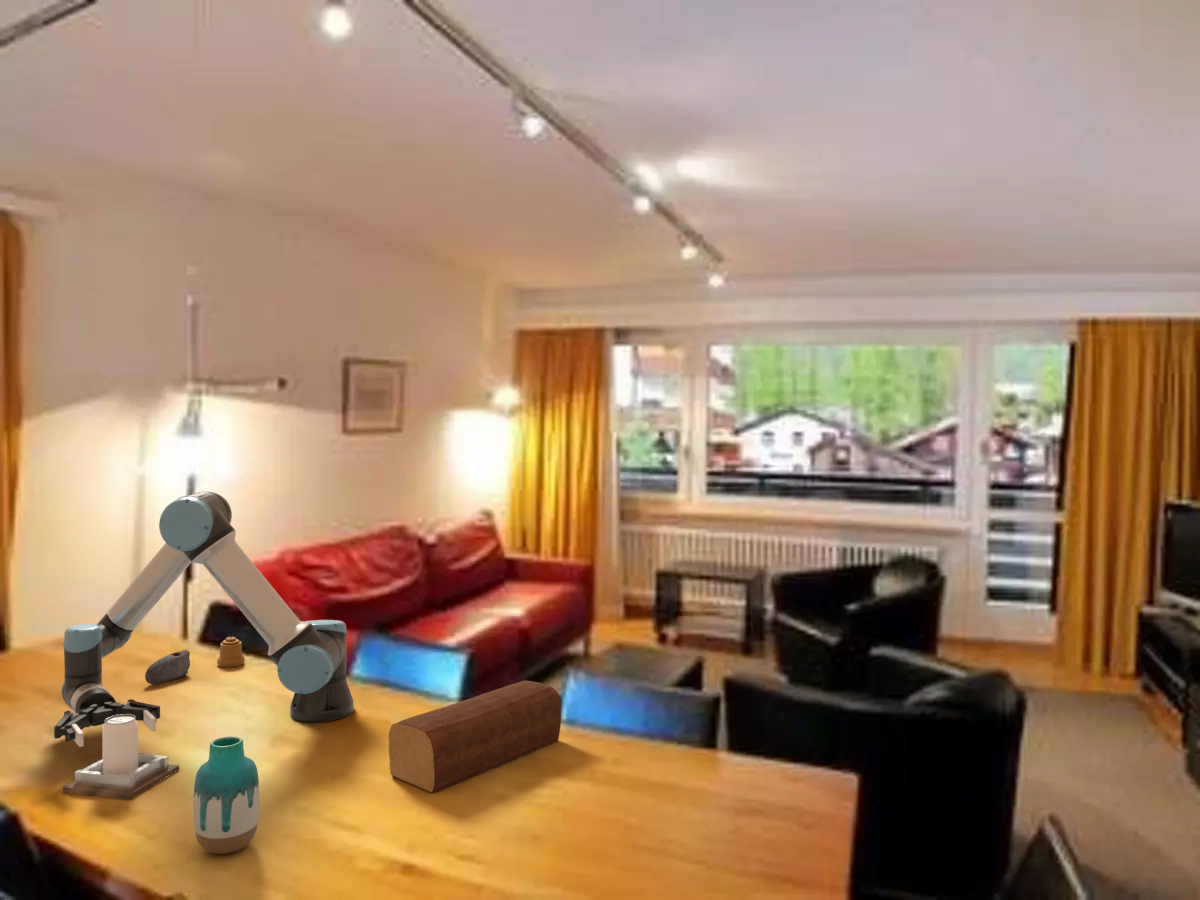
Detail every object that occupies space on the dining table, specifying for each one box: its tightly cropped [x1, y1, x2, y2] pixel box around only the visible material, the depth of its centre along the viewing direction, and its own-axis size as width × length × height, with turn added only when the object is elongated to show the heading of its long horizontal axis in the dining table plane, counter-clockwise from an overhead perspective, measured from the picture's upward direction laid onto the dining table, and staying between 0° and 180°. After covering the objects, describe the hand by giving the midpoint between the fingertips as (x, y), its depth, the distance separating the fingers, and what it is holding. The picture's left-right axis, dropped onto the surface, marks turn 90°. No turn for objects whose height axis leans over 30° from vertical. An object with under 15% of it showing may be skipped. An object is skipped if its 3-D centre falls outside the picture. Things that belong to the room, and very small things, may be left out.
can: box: [101, 714, 139, 775], centre depth 188 cm, size 6×6×12 cm
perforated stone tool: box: [144, 649, 191, 685], centre depth 254 cm, size 15×5×7 cm, turn 157°
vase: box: [193, 735, 260, 855], centre depth 161 cm, size 11×11×19 cm
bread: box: [388, 680, 562, 794], centre depth 204 cm, size 16×39×13 cm, turn 141°
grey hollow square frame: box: [74, 752, 169, 791], centre depth 189 cm, size 13×11×2 cm
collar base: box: [62, 763, 180, 801], centre depth 189 cm, size 15×15×1 cm
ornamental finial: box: [216, 636, 246, 669], centre depth 269 cm, size 8×8×8 cm
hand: (118, 732), depth 189 cm, fingers open, 13 cm apart
